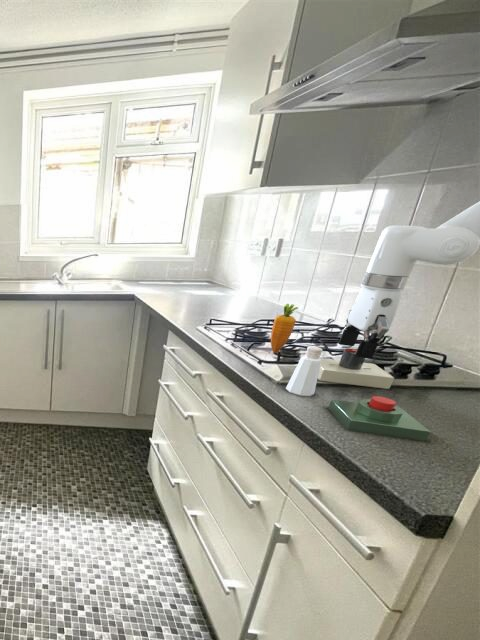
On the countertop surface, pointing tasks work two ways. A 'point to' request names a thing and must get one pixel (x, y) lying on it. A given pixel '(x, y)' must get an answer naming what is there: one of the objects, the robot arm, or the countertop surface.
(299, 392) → the pepper shaker
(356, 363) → the hob knob
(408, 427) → the green button base
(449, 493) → the countertop surface
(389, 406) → the button
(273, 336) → the carrot
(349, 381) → the hob panel
